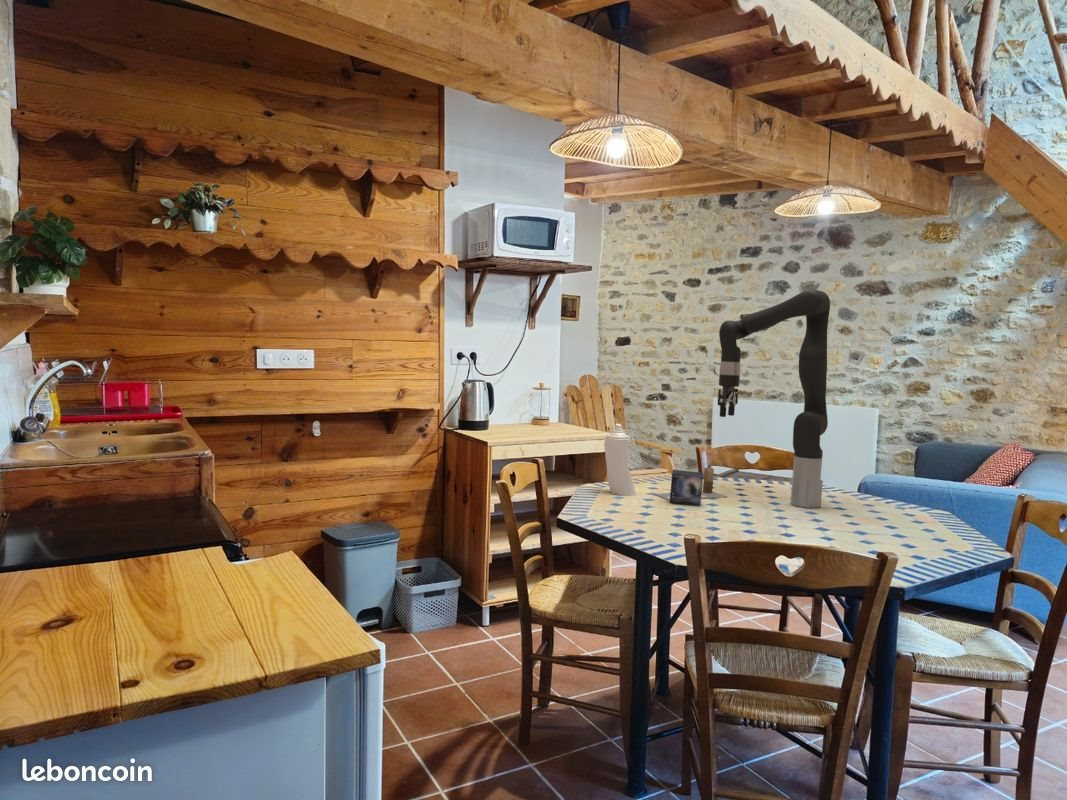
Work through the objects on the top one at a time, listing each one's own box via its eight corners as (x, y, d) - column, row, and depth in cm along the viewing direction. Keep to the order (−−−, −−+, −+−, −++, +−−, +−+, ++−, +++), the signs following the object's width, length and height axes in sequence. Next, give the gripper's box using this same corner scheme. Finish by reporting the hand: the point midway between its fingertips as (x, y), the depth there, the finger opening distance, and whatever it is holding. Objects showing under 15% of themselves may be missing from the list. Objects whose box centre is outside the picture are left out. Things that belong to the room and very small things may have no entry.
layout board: (727, 497, 253) (727, 496, 253) (669, 500, 243) (669, 500, 243) (710, 491, 262) (710, 490, 262) (653, 494, 253) (653, 493, 253)
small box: (669, 502, 240) (671, 472, 238) (669, 498, 246) (672, 469, 245) (700, 506, 237) (703, 476, 236) (700, 501, 244) (703, 472, 242)
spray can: (613, 496, 246) (617, 426, 244) (597, 490, 256) (600, 422, 254) (640, 494, 252) (644, 425, 250) (623, 488, 261) (627, 422, 259)
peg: (714, 493, 258) (715, 469, 257) (706, 493, 256) (708, 469, 255) (708, 491, 261) (709, 467, 260) (700, 491, 259) (702, 467, 259)
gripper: (732, 374, 257) (729, 418, 258) (746, 374, 268) (743, 416, 269) (712, 373, 261) (710, 416, 263) (727, 372, 273) (724, 414, 274)
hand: (726, 416), depth 266 cm, fingers open, 8 cm apart
